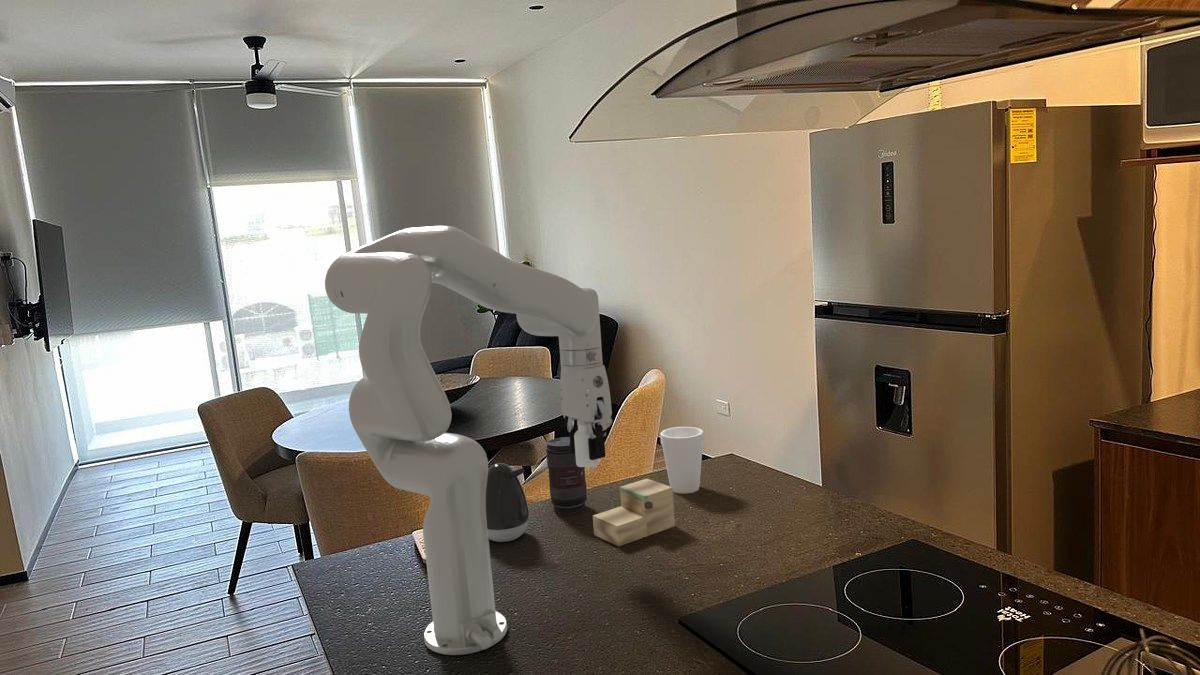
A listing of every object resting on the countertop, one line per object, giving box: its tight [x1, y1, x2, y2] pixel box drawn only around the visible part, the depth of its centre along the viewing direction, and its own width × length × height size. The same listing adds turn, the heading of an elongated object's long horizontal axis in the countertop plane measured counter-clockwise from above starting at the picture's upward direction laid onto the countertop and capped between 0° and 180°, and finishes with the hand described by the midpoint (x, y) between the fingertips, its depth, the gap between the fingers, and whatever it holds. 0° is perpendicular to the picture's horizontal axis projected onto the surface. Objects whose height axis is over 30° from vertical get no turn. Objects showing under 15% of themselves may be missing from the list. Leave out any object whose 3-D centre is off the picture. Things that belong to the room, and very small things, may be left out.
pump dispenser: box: [486, 462, 531, 543], centre depth 165 cm, size 10×10×15 cm
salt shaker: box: [574, 420, 602, 468], centre depth 152 cm, size 4×4×10 cm
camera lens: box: [545, 436, 588, 515], centre depth 178 cm, size 8×8×15 cm
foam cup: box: [659, 426, 705, 494], centre depth 185 cm, size 10×9×13 cm
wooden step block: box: [592, 478, 676, 547], centre depth 163 cm, size 9×14×8 cm, turn 126°
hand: (587, 454), depth 152 cm, fingers closed on salt shaker, 5 cm apart
